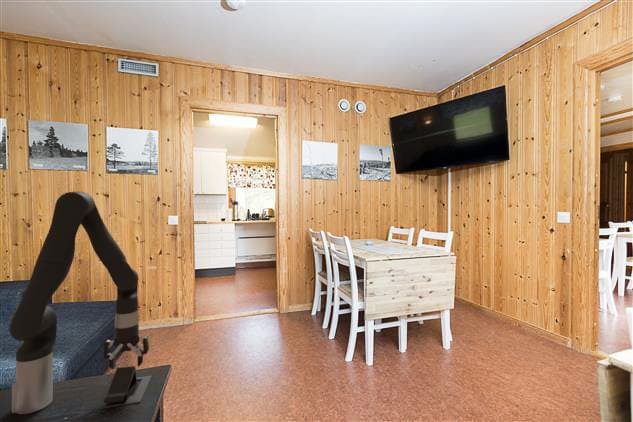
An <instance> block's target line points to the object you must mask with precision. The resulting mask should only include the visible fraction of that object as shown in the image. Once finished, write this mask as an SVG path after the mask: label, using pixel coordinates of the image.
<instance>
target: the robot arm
mask: <svg viewBox="0 0 633 422" xmlns="http://www.w3.org/2000/svg"><path fill="white" fill-rule="evenodd" d="M51 219H52V220H51V223H50V227H49V229H48V233H47V235H46V237H45V240H44V241H43V245H42V246H41V249H40V252H39V254H38V257H37V258H36V261H35V263H34V267H33V270H32V273H31V276H30V278H29V281H28V284H27V286H26V289H25V292H24V295H23V297H22V299H21V301H20V303H19V305H18V307H17V309H16V311H15V312H14V314H13V317H12V319H11V321H10V323H9V334H10V336H11V338H13V339H14V340H15V341H18V342H23V343H22V344H21V345H20V347H19V348H18V349H17V350H16V353H15V382H13V384H12V385H11V413H12V414H17V415H27V414H31V413H34V412H35V413H36V412H38V411H41V410H42V409H44V408H46V407H47V406H49V405H50V404H51V403H52V402H53V394H54V393H53V390H54V389H53V383H54V382H53V381H54V380H53V375H54V373H53V372H54V371H53V368H54V367H53V366H54V364H53V363H54V362H53V361H54V359H53V357H54V346H55V343H56V341H57V328H58V316H57V312H56V311H55V310H54V308H52V307H51V306H49V305H48V304H49V302H50V300H51V298H52V297H53V296H54V294H55V292H56V291H57V290H58V289H59V288H60V286H61V285H62V283H64V281H65V279H66V278H67V276H68V274H69V272H70V270H71V266H72V265H73V262H74V258H75V252H76V236H77V233H78V230H79V229H80V226H82V227H83V229H84V231H85V232H86V234H87V236H88V239H89V241H90V245H91V247H92V248H93V251H94V252H95V254H96V257H98V259H99V261H100V262H101V263H102V265H103V266H104V268H105V269H106V270H107V272H108V274H109V276H110V277H111V279H112V282H113V284H114V285H115V286H116V294H117V296H116V299H115V300H116V301H115V317H114V340H111V339H107V340H106V341H105V342H104V344H103V345H104V346H103V356H102V357H103V359H108V360H109V361H108V362H109V364H108V365H109V366H108V367H109V369H110V370H115V368H116V360H117V359H116V357H117V356H116V355H117V353H119V352H121V353H124V352H131V351H133V353H134V354H136V355H137V367H140V366H141V365H142V364H143V362H144V355H146V354H148V352H149V351H150V347H149V345H150V344H149V336H148V335H145V336H143V337H140V336H139V329H140V327H139V326H140V325H139V323H140V319H139V318H140V317H139V316H140V315H139V298H138V291H139V289H138V287H139V273H138V272H137V271H136V270H134V268H132V267H131V266H130V264H129V263H128V261H127V257H126V255H125V254H124V252H123V250H122V249H121V248H120V246H119V245H118V243H117V242H116V240H115V239H114V238H113V235H112V234H111V233H110V231H109V229H108V227H107V226H106V224H105V223H104V220H103V218H102V216H101V215H100V212H99V210H98V208H97V205H96V202H95V200H94V198H93V197H92V196H91V194H88V193H87V192H84V191H78V190H77V191H68V192H65V193H63V194H61V195H60V196H58V198H57V200H56V201H55V206H54V209H53V214H52V218H51ZM139 342H141V344H142V346H143V347H142V348H143V349H142V348H141V346H140V345H139ZM112 346H114V347H115V349H114V350H113V352H112V353H111V348H112Z"/></svg>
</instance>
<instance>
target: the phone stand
mask: <svg viewBox="0 0 633 422" xmlns="http://www.w3.org/2000/svg"><path fill="white" fill-rule="evenodd" d="M136 368H137V367H136V365H134V366H133V365H131V366H122V367H117V368H116V369H115V372H114V375H113V378H112V380H111V383H110V386H109V389H108V392H107V394H106V395H105V397H104V399H103V404H104V405H103V407H104V406H111V405H119V404H125V402H126V400H127V398H128V397H129V396H131V394H132V393H133V392H134V391H135V390H136V388H138V381H137V379H136V378H137V369H136ZM105 404H106V405H105Z"/></svg>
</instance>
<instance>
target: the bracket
mask: <svg viewBox="0 0 633 422" xmlns="http://www.w3.org/2000/svg"><path fill="white" fill-rule="evenodd" d="M136 379H137V382H138V381H140V382H139V385H137V387H136V388H137V389H136V390H135V393H134V395H130V396H129V397H128V398H127V400H126V402H125V404H119V405H111V406H104V405H106V403H104V405H103V409H108V408H114V407H115V408H116V407H121V406H127V405H133V404H141V401H142V400H143V398H144V395H145V393H146V390H147V388H148V386H149V384H150V382H151V379H152V375H146V376H138V377H137V376H136Z"/></svg>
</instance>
